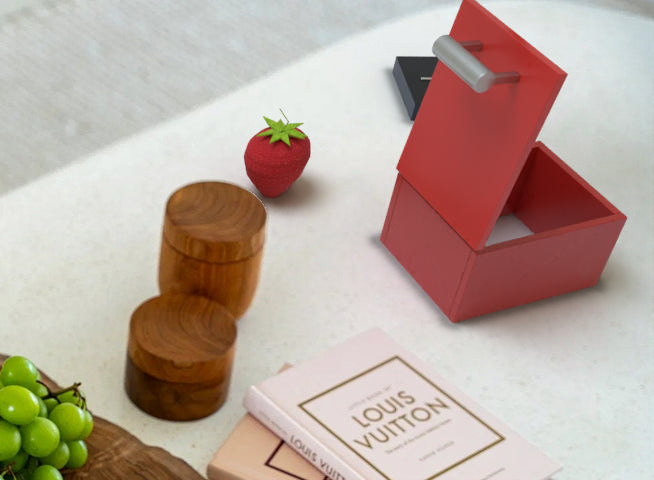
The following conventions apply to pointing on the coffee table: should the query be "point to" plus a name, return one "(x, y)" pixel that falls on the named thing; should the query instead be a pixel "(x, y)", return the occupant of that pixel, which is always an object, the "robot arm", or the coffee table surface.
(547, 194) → the red open box
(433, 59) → the panel
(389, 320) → the coffee table surface
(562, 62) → the coffee table surface
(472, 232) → the hatch
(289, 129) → the strawberry
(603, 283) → the coffee table surface
